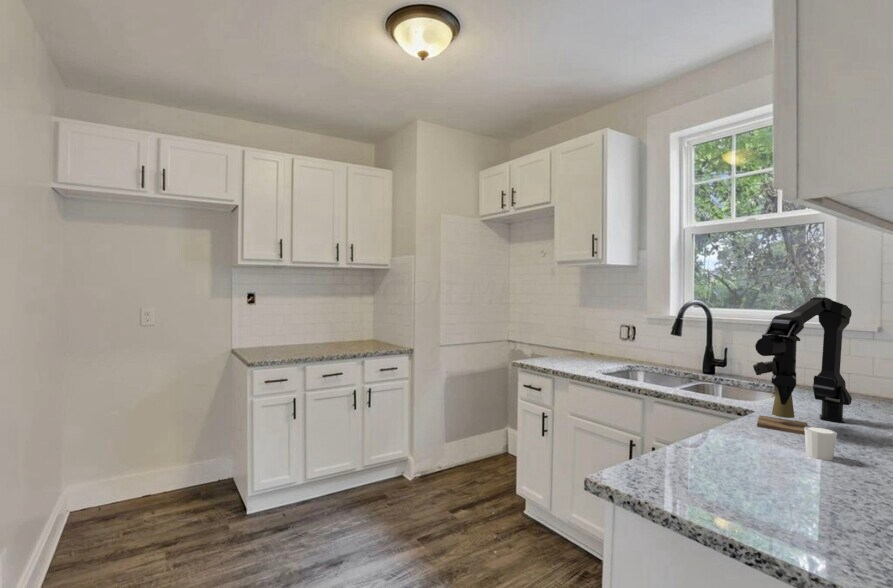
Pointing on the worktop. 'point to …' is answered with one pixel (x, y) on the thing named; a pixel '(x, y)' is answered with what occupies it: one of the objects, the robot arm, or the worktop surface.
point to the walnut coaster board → (781, 424)
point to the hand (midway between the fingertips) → (783, 403)
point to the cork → (782, 406)
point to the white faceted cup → (820, 442)
